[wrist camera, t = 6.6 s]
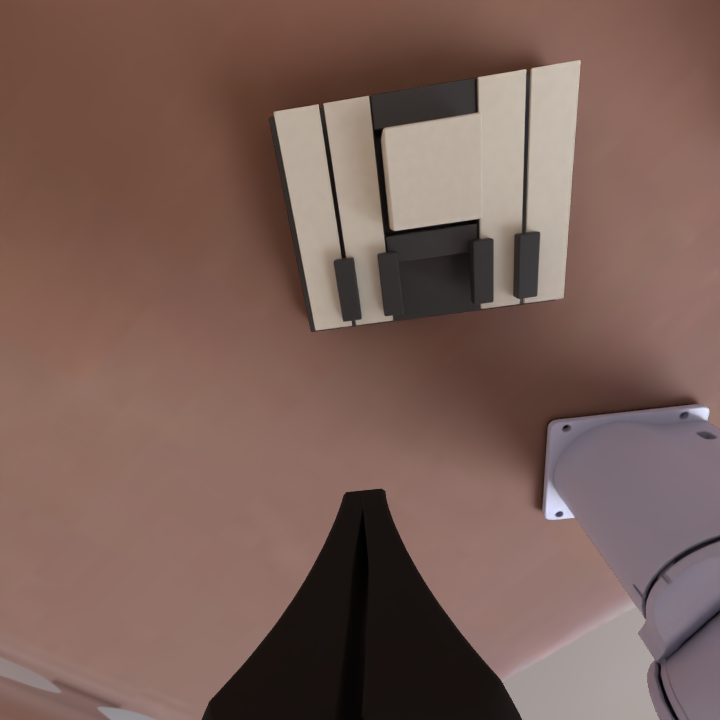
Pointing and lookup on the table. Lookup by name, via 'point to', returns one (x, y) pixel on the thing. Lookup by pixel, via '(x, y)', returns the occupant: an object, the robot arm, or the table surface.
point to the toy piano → (424, 244)
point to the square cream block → (433, 171)
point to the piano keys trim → (500, 199)
